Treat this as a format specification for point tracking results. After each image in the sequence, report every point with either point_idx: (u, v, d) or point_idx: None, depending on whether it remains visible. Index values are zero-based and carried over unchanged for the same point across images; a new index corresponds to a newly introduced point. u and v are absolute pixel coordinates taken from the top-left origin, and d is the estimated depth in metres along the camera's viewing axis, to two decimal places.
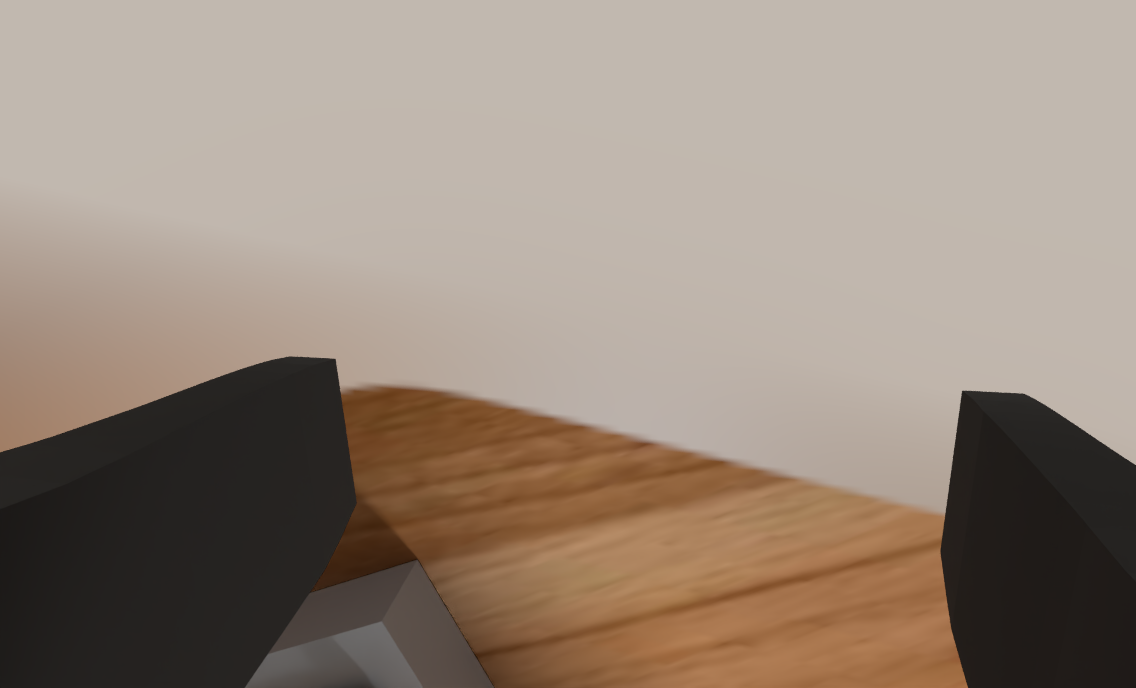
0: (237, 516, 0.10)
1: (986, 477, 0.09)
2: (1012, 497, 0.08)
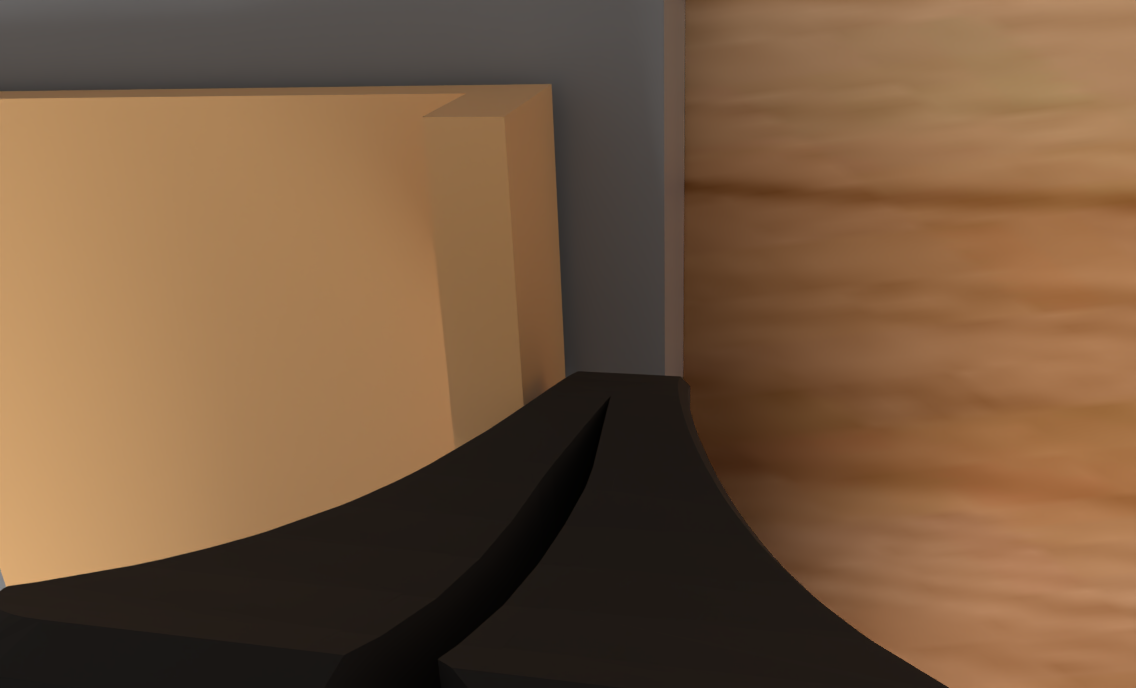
0: None
1: None
2: None
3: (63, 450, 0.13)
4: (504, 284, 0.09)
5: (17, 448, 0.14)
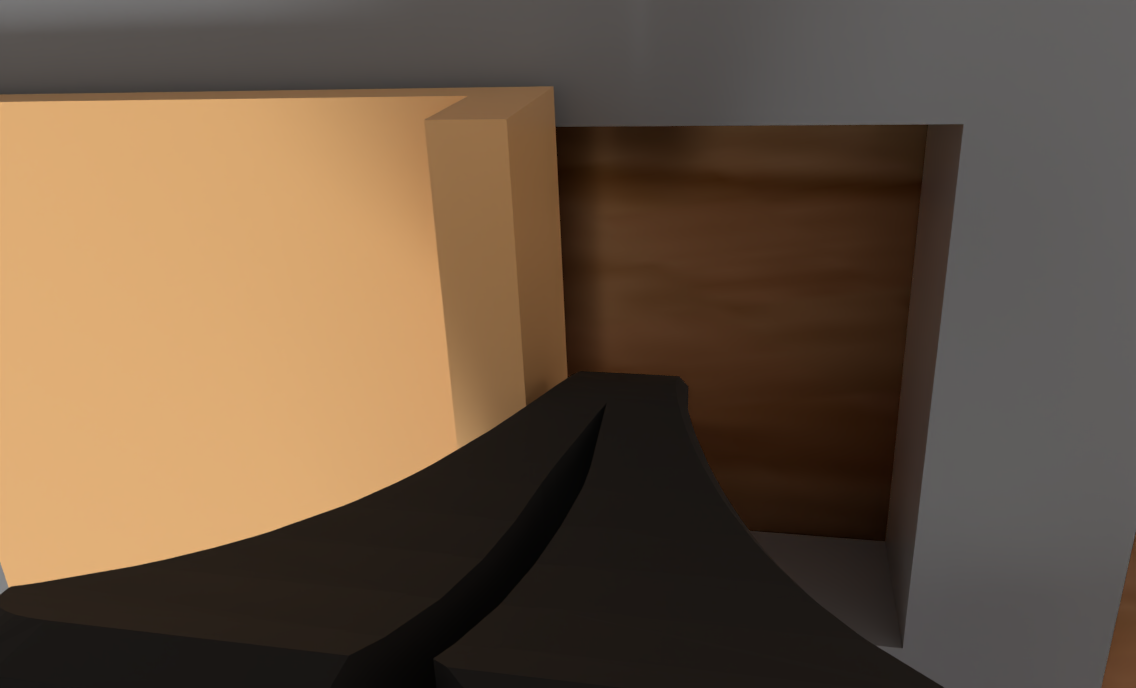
0: None
1: None
2: None
3: (66, 452, 0.13)
4: (506, 286, 0.10)
5: (20, 451, 0.14)
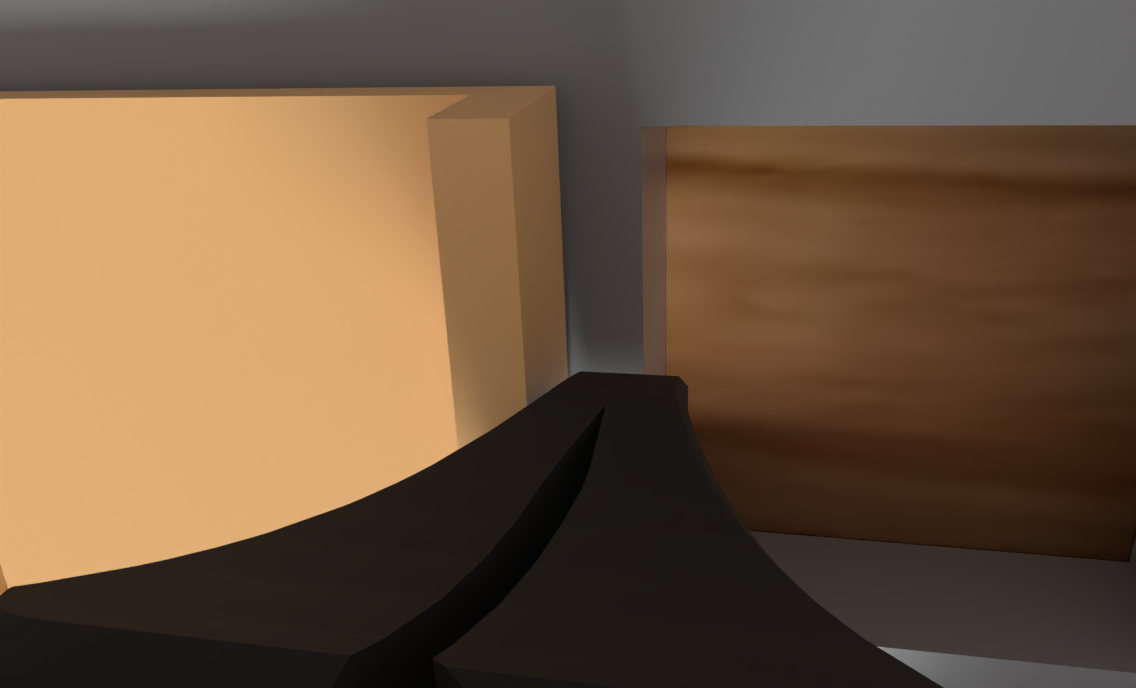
0: None
1: None
2: None
3: (65, 450, 0.13)
4: (508, 284, 0.09)
5: (19, 448, 0.14)
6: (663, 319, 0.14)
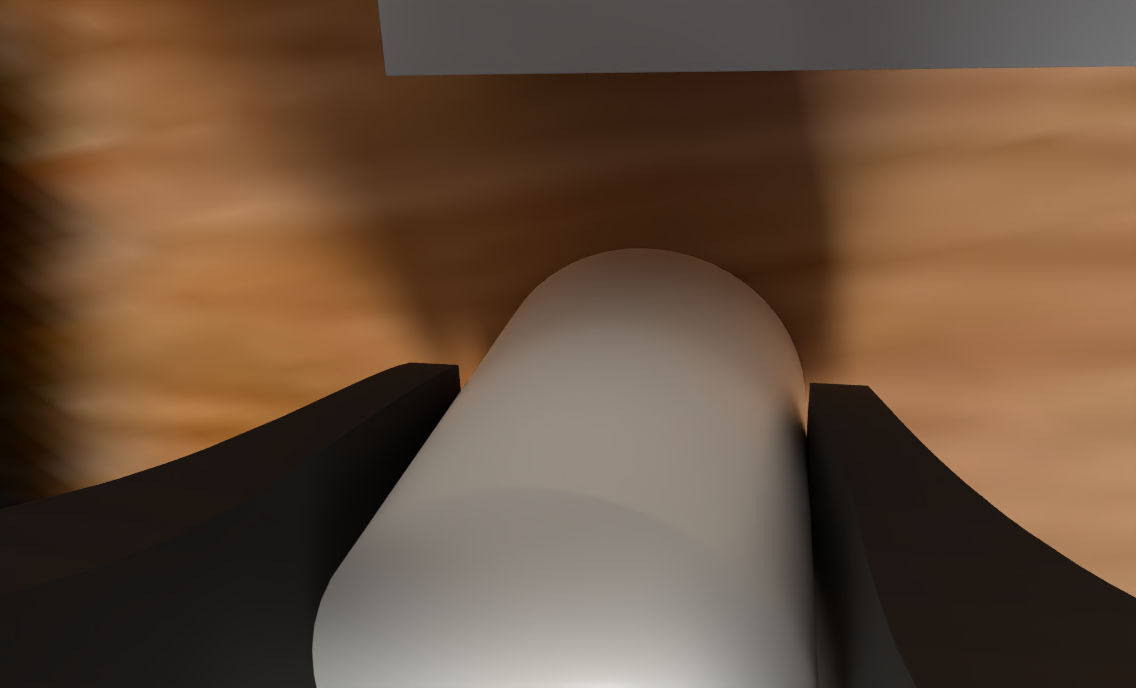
0: None
1: (815, 465, 0.09)
2: (826, 484, 0.09)
3: None
4: None
5: None
6: None
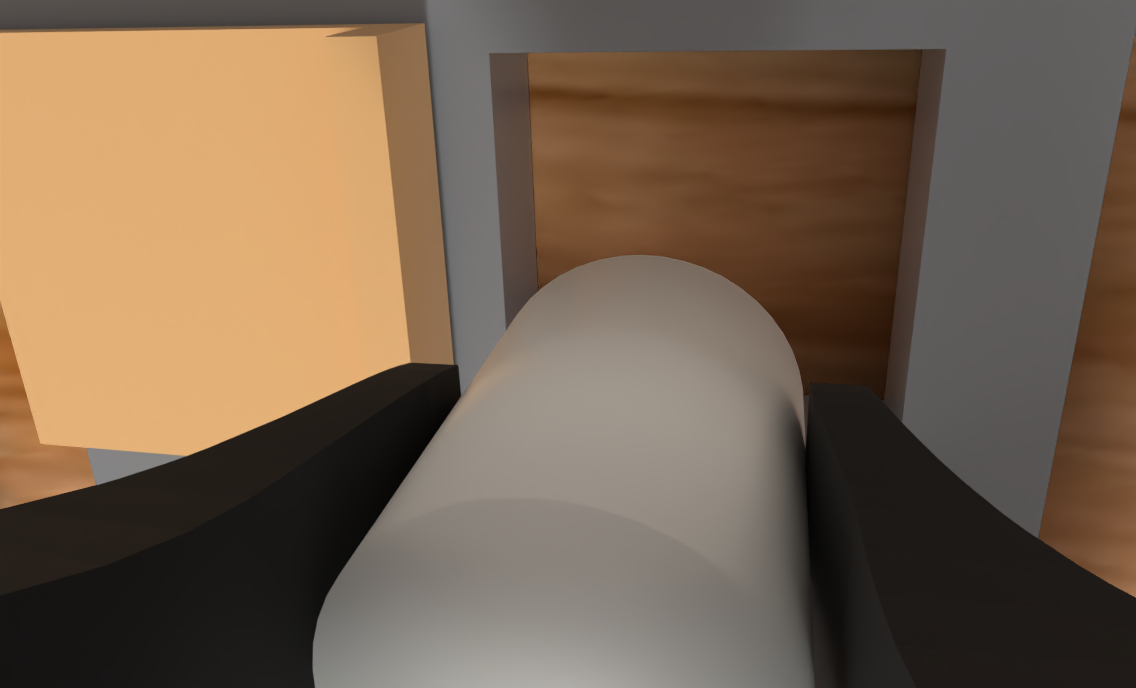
0: None
1: (814, 465, 0.09)
2: (826, 483, 0.09)
3: (78, 300, 0.18)
4: (380, 151, 0.14)
5: (43, 300, 0.18)
6: (530, 211, 0.19)
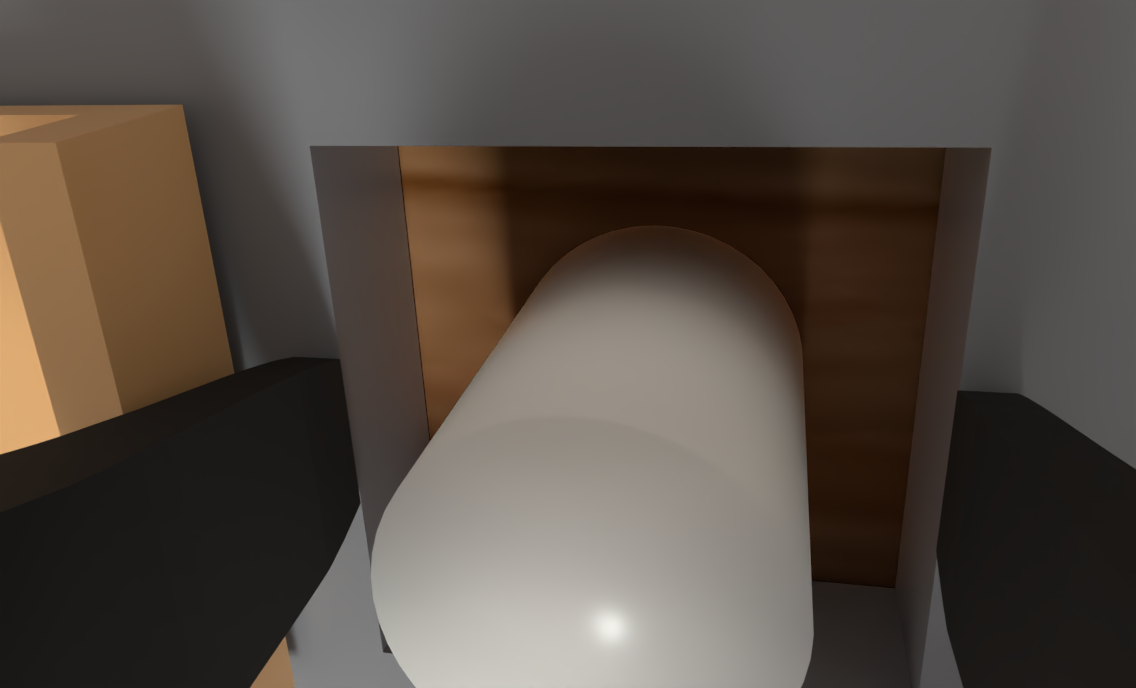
0: (241, 517, 0.10)
1: (980, 477, 0.09)
2: (1006, 497, 0.08)
3: None
4: (87, 313, 0.09)
5: None
6: (411, 339, 0.14)
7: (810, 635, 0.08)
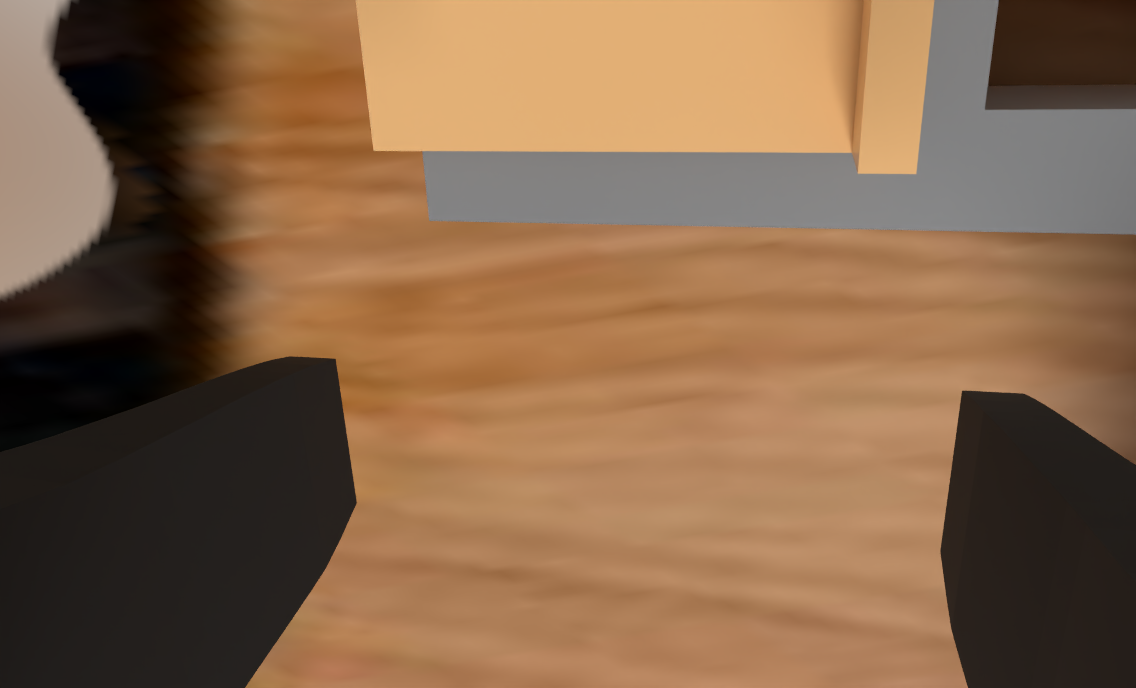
0: (238, 517, 0.10)
1: (986, 477, 0.09)
2: (1012, 497, 0.08)
3: None
4: None
5: None
6: None
7: None
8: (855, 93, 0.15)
